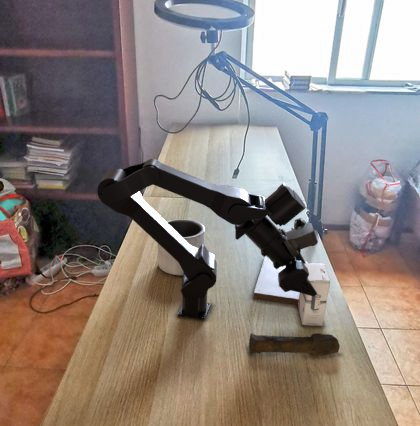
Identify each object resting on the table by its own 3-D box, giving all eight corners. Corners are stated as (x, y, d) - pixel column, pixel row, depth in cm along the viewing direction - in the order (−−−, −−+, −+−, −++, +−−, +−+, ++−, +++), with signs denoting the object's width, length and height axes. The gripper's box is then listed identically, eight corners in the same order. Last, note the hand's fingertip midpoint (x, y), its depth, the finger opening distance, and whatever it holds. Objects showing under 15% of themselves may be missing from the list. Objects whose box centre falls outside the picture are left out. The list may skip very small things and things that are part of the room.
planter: (180, 282, 125) (180, 243, 119) (148, 265, 132) (146, 227, 126) (213, 266, 133) (215, 228, 127) (182, 250, 140) (182, 214, 134)
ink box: (296, 305, 118) (303, 261, 112) (316, 306, 119) (325, 262, 112) (300, 325, 111) (309, 281, 105) (322, 326, 111) (332, 282, 105)
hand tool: (248, 356, 102) (250, 339, 99) (248, 344, 105) (250, 327, 102) (339, 362, 101) (343, 345, 99) (336, 350, 105) (340, 333, 102)
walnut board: (301, 305, 119) (302, 299, 118) (253, 297, 121) (253, 292, 120) (307, 266, 135) (308, 261, 134) (264, 260, 137) (264, 255, 136)
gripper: (303, 232, 93) (350, 284, 99) (292, 197, 108) (334, 243, 114) (259, 267, 98) (306, 315, 104) (254, 228, 113) (296, 271, 119)
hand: (312, 284), depth 110 cm, fingers open, 9 cm apart
